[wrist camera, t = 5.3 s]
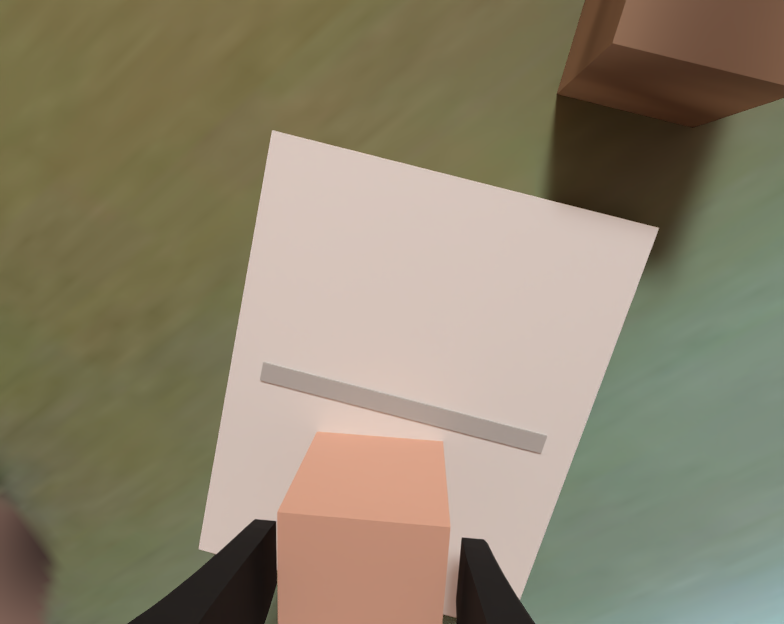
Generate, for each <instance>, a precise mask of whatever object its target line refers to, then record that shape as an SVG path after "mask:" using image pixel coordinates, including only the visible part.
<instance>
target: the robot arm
mask: <svg viewBox="0 0 784 624" xmlns="http://www.w3.org/2000/svg"><path fill="white" fill-rule="evenodd" d="M276 584H277V551H276V521H271V520H260V519H254V520H253V521H252V522H251V523H250V524H249V525H248V526H246V527H245V528H244V529H243V530H242V531H241V532H240V533H239V534H238V535H237V536H236V537H235V538H233V539H232V540H231V541H230V542H229V543H228V544H227V545H226V546H225V547H224V548H223V549H221V550H220V551H219V552H218V553H217V554H216V555H215V556H214V557H212V558H211V559H210V560H209V561H208V562H207V563H206V564H205V565H203V566H202V567H201V568H200V569H199V570H198V571H197V572H195V573H194V574H193V575H192V576H191V577H189V578H188V579H187V580H186V581H184V582H183V583H182V584H181V585H179V586H178V587H177V588H176V589H174V590H173V591H172V592H171V593H169V594H168V595H167V596H166V597H164V598H163V599H162V600H160V601H159V602H158V603H156V604H155V605H154V606H152V607H151V608H150V609H148V610H147V611H145V612H144V613H142V614H141V615H139V616H138V617H136V618H135V619H134V620H132V621H131V622H129V623H128V624H264V623H265V620H266V617H267V614H268V611H269V608H270V605H271V601H272V598H273V595H274V591H275V588H276ZM456 618H457V624H535V623H534V621H533V620H532V618H531V617H530V615H529V614H528V612H527V611H526V609H525V608H524V606H523V605H522V603H521V602H520V600H519V598H518V597H517V595H516V594H515V592H514V590H513V589H512V587H511V586H510V584H509V582H508V580H507V579H506V577H505V575H504V573H503V572H502V570H501V568H500V566H499V564H498V563H497V561H496V559H495V557H494V555H493V553H492V551H491V549H490V547H489V545H488V543H487V542H486V541H485V540H484V539H474V538H463V537H462V539H461V550H460V560H459V571H458V582H457V593H456Z"/></svg>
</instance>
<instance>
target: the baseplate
mask: <svg viewBox="0 0 784 624" xmlns="http://www.w3.org/2000/svg"><path fill="white" fill-rule="evenodd" d="M658 230H659V228H657V227H654V226H650V225H646V224H642V223H638V222H634V221H630V220H626V219H622V218H618V217H614V216H610V215H606V214H602V213H598V212H594V211H590V210H586V209H582V208H578V207H574V206H570V205H566V204H562V203H558V202H554V201H550V200H546V199H543V198H539V197H535V196H531V195H527V194H523V193H519V192H515V191H511V190H507V189H503V188H499V187H495V186H491V185H487V184H483V183H479V182H475V181H471V180H467V179H463V178H459V177H455V176H451V175H447V174H443V173H439V172H435V171H431V170H428V169H424V168H420V167H416V166H412V165H408V164H404V163H400V162H396V161H392V160H388V159H384V158H380V157H376V156H372V155H368V154H364V153H360V152H356V151H352V150H348V149H344V148H340V147H336V146H332V145H328V144H324V143H320V142H317V141H313V140H309V139H305V138H301V137H297V136H293V135H289V134H285V133H281V132H277V131H273V130H272V134H271V140H270V145H269V151H268V157H267V162H266V168H265V174H264V179H263V185H262V191H261V197H260V202H259V208H258V214H257V219H256V225H255V231H254V236H253V242H252V248H251V253H250V259H249V265H248V270H247V276H246V282H245V288H244V293H243V299H242V305H241V310H240V316H239V322H238V327H237V333H236V339H235V344H234V350H233V356H232V361H231V367H230V373H229V379H228V384H227V390H226V396H225V401H224V407H223V413H222V418H221V424H220V430H219V435H218V441H217V447H216V452H215V458H214V464H213V470H212V475H211V481H210V487H209V492H208V498H207V504H206V509H205V515H204V521H203V526H202V532H201V538H200V544H199V549H200V550H203V551H207V552H211V553H215V554H217V553H218V552H219V551H220V550H221V549H223V548H224V547H225V546H226V545H227V544H228V543H229V542H230V541H231V540H232V539H233V538H235V537H236V536H237V535H238V534H239V533H240V532H241V531H242V530H243V529H244V528H245V527H246V526H248V525H249V524H250V523H251V522H252V521H253V520H254V519H260V520H271V521H276V551H277V512H278V509H279V507H280V505H281V503H282V501H283V499H284V497H285V495H286V493H287V491H288V489H289V487H290V485H291V483H292V481H293V479H294V477H295V475H296V473H297V471H298V469H299V467H300V465H301V463H302V461H303V459H304V457H305V455H306V453H307V451H308V449H309V447H310V445H311V443H312V440H313V438H314V436H315V434H316V432H330V433H343V434H356V435H369V436H382V437H395V438H408V439H421V440H434V441H443V446H444V458H445V469H446V481H447V492H448V504H449V515H450V527H451V528H450V540H449V551H448V563H447V574H446V586H445V597H444V609H443V614H444V615H447V616H451V617H455V618H456V593H457V582H458V571H459V560H460V550H461V539H462V537H463V538H474V539H484V540H485V541H486V542H487V543H488V545H489V547H490V549H491V551H492V553H493V555H494V557H495V559H496V561H497V563H498V564H499V566H500V568H501V570H502V572H503V573H504V575H505V577H506V579H507V580H508V582H509V584H510V586H511V587H512V589H513V590H514V592H515V594H516V595H517V597H518V598H519V600H520V598H521V595H522V593H523V590H524V587H525V585H526V582H527V579H528V577H529V574H530V571H531V569H532V566H533V563H534V561H535V558H536V555H537V553H538V550H539V547H540V545H541V542H542V539H543V537H544V534H545V531H546V529H547V526H548V523H549V521H550V518H551V515H552V513H553V510H554V507H555V505H556V502H557V499H558V497H559V494H560V491H561V489H562V486H563V483H564V481H565V478H566V475H567V473H568V470H569V467H570V465H571V462H572V459H573V457H574V454H575V451H576V449H577V446H578V443H579V441H580V438H581V435H582V433H583V430H584V427H585V425H586V422H587V419H588V417H589V414H590V411H591V409H592V406H593V403H594V401H595V398H596V395H597V393H598V390H599V387H600V385H601V382H602V379H603V376H604V374H605V371H606V368H607V366H608V363H609V360H610V358H611V355H612V352H613V350H614V347H615V344H616V342H617V339H618V336H619V334H620V331H621V328H622V326H623V323H624V320H625V318H626V315H627V312H628V310H629V307H630V304H631V302H632V299H633V296H634V294H635V291H636V288H637V286H638V283H639V280H640V278H641V275H642V272H643V270H644V267H645V264H646V262H647V259H648V256H649V254H650V251H651V248H652V246H653V243H654V240H655V238H656V235H657V232H658ZM277 570H278V558H277Z"/></svg>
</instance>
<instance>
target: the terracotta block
mask: <svg viewBox="0 0 784 624" xmlns="http://www.w3.org/2000/svg"><path fill="white" fill-rule="evenodd" d="M450 528H451V527H450V515H449V504H448V492H447V481H446V469H445V458H444V446H443V441H434V440H421V439H408V438H395V437H382V436H369V435H356V434H343V433H330V432H316V434H315V436H314V438H313V440H312V443H311V445H310V447H309V449H308V451H307V453H306V455H305V457H304V459H303V461H302V463H301V465H300V467H299V469H298V471H297V473H296V475H295V477H294V479H293V481H292V483H291V485H290V487H289V489H288V491H287V493H286V495H285V497H284V499H283V501H282V503H281V505H280V507H279V509H278V512H277V558H278V624H442V620H443V609H444V597H445V586H446V574H447V563H448V551H449V540H450Z"/></svg>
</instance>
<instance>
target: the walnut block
mask: <svg viewBox="0 0 784 624" xmlns="http://www.w3.org/2000/svg"><path fill="white" fill-rule="evenodd" d="M557 94H559V95H563V96H567V97H571V98H575V99H579V100H583V101H587V102H591V103H595V104H599V105H603V106H607V107H611V108H615V109H619V110H623V111H627V112H631V113H636V114H640V115H644V116H648V117H652V118H656V119H660V120H664V121H668V122H672V123H676V124H680V125H684V126H688V127H692V128H693V127H696V126H699V125H703V124H706V123H709V122H712V121H715V120H718V119H721V118H724V117H727V116H730V115H733V114H736V113H739V112H742V111H745V110H748V109H751V108H754V107H757V106H761V105H764V104H767V103H770V102H773V101H776V100H779V99H782V98H784V0H585V3H584V6H583V9H582V13H581V16H580V19H579V22H578V26H577V29H576V32H575V36H574V39H573V42H572V46H571V49H570V52H569V55H568V59H567V62H566V65H565V69H564V72H563V75H562V79H561V82H560V85H559V88H558V92H557Z"/></svg>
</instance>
